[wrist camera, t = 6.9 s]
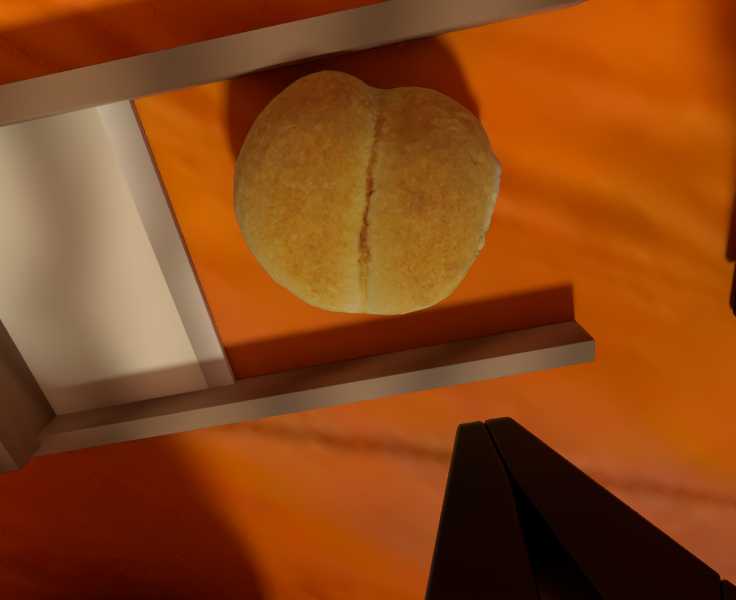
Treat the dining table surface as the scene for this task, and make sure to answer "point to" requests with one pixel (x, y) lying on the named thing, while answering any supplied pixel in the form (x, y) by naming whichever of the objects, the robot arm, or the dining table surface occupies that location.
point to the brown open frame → (178, 254)
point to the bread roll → (365, 193)
